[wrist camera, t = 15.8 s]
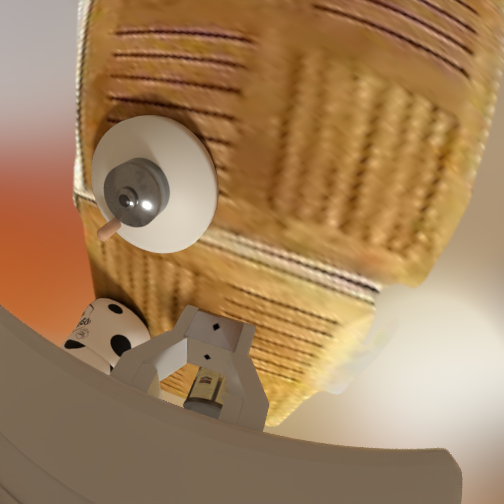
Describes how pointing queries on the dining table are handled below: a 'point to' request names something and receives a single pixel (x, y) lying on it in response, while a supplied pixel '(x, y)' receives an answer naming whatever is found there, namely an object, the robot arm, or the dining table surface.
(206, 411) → the coffee can
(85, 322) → the milk container
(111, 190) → the iron cover
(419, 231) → the dining table surface
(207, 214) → the crank wheel
